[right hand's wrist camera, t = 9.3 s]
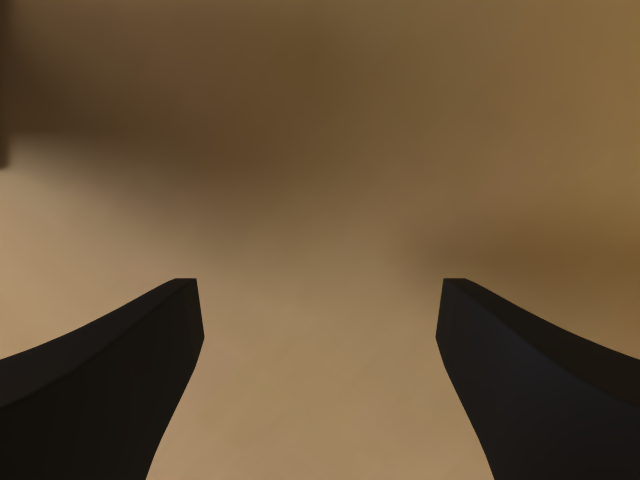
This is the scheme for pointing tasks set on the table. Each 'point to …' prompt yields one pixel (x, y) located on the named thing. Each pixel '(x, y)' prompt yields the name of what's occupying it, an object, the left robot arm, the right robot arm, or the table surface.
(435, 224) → the table surface
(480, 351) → the right robot arm
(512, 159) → the table surface
